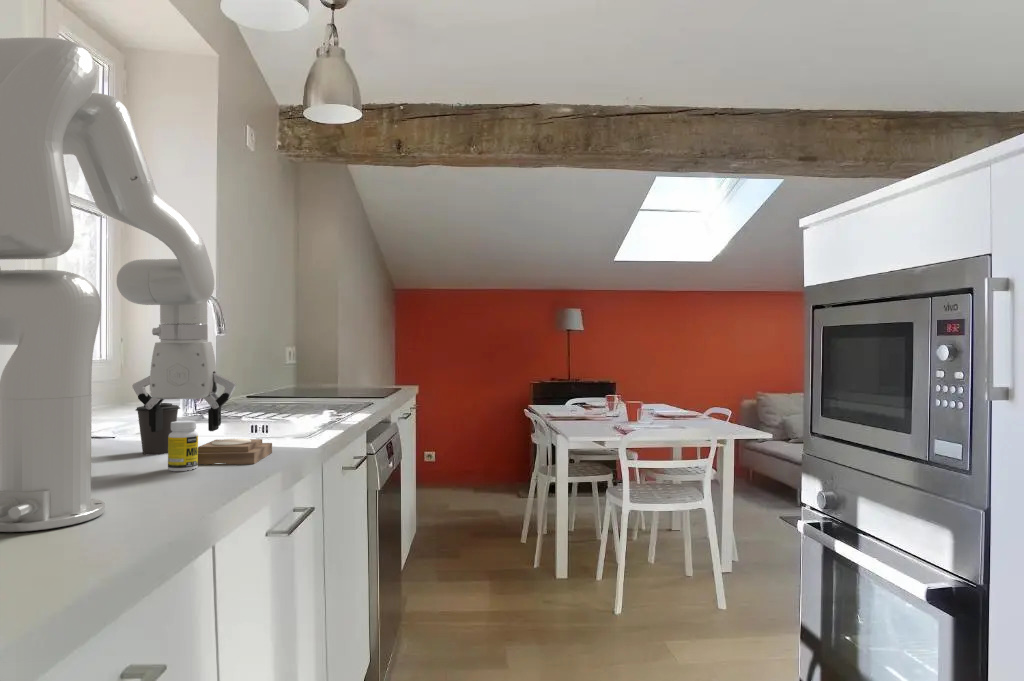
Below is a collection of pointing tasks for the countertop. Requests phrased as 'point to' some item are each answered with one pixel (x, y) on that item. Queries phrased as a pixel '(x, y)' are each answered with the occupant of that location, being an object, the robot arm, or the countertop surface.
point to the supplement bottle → (183, 446)
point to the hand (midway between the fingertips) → (185, 430)
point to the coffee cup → (159, 439)
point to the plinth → (233, 451)
